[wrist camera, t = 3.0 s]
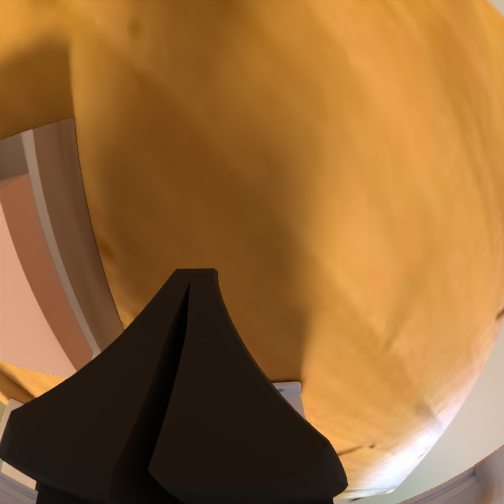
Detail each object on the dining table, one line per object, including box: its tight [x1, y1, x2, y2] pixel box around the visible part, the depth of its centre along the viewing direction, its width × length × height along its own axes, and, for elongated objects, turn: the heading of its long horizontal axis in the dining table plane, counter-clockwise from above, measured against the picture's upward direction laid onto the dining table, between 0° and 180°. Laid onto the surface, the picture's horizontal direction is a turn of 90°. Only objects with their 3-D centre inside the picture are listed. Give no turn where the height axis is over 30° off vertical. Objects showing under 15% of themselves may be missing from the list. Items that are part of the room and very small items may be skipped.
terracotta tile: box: [0, 173, 94, 379], centre depth 9 cm, size 6×9×2 cm, turn 179°
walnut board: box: [0, 117, 124, 360], centre depth 11 cm, size 7×12×3 cm, turn 179°
